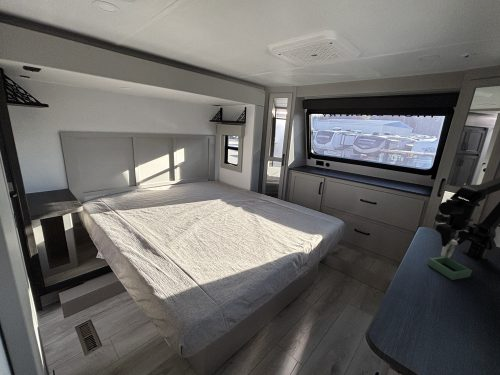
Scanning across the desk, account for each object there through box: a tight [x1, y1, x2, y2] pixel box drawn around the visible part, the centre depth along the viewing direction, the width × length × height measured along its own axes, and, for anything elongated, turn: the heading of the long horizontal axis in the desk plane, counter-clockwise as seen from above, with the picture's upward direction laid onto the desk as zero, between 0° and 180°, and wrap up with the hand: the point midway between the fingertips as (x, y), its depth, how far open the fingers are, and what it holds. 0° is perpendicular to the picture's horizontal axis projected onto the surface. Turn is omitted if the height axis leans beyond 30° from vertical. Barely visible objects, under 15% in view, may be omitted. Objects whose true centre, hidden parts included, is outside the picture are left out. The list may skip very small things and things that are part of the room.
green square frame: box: [426, 256, 473, 281], centre depth 93 cm, size 10×10×3 cm
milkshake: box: [440, 238, 460, 259], centre depth 102 cm, size 4×5×10 cm
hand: (450, 245), depth 102 cm, fingers open, 9 cm apart
